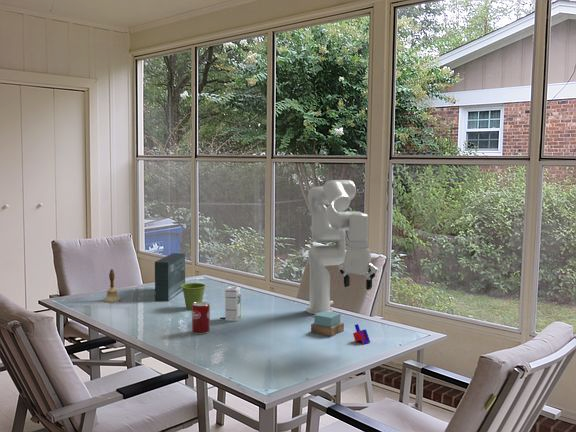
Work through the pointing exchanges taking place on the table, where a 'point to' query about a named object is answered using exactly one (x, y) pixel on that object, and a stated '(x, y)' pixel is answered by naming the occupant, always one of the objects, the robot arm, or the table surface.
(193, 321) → the soda can
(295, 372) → the table surface
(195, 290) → the plant pot
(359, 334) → the dreidel
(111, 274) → the hand bell
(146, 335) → the table surface
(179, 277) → the dark green box
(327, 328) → the tower base block
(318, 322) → the tower top block
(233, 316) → the syrup box
